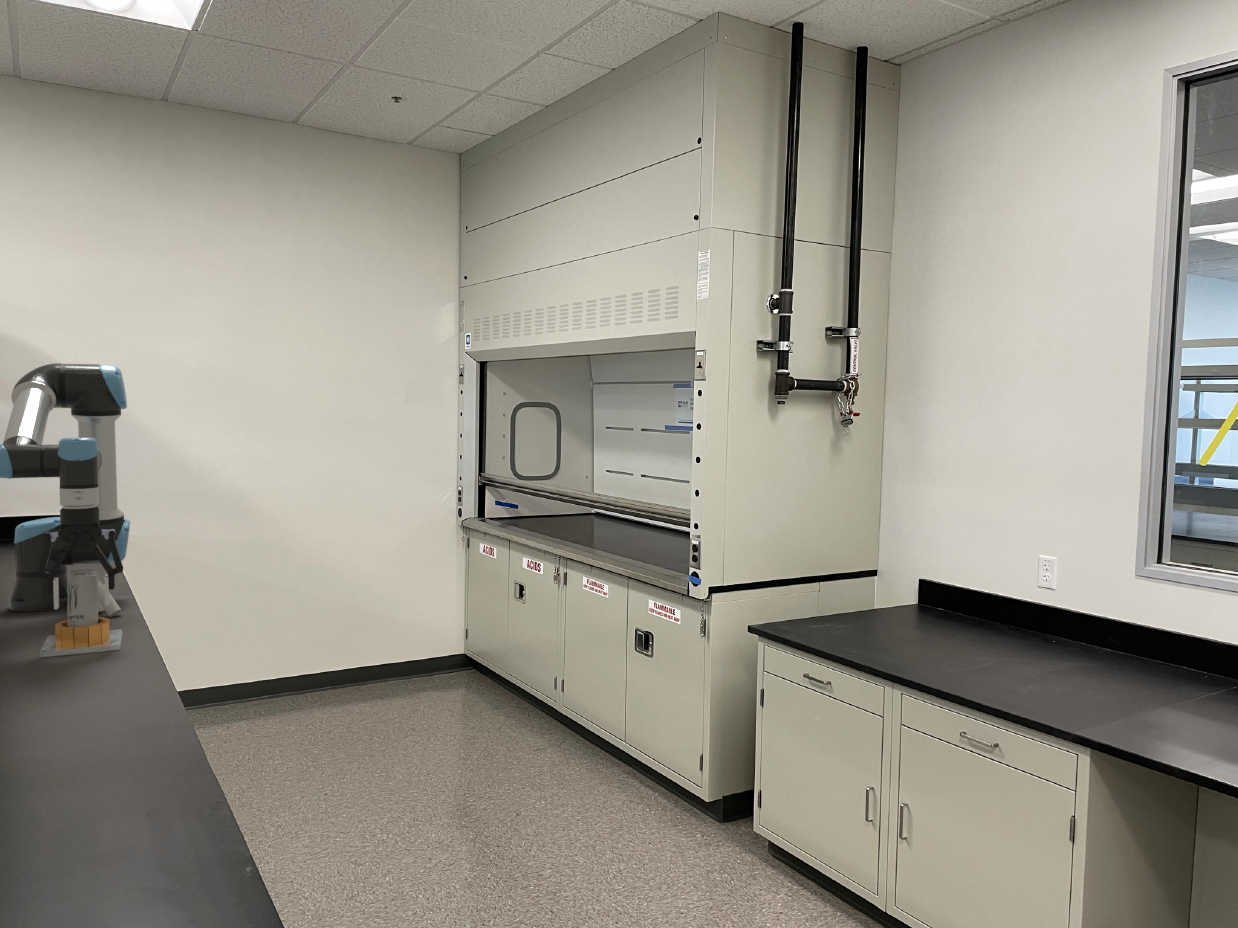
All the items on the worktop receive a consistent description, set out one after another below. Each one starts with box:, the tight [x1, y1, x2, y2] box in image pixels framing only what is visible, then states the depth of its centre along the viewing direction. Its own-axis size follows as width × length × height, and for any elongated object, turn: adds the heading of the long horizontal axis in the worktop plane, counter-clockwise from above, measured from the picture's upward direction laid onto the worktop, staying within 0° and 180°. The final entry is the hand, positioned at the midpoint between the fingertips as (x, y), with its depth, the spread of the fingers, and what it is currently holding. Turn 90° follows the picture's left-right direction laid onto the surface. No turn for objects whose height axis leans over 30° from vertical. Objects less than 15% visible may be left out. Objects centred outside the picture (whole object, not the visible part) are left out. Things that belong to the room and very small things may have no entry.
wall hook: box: [98, 579, 122, 618], centre depth 233 cm, size 8×10×10 cm
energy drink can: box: [66, 568, 99, 627], centre depth 206 cm, size 6×6×15 cm
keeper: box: [39, 616, 123, 658], centre depth 204 cm, size 15×15×5 cm
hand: (82, 605), depth 204 cm, fingers open, 9 cm apart
